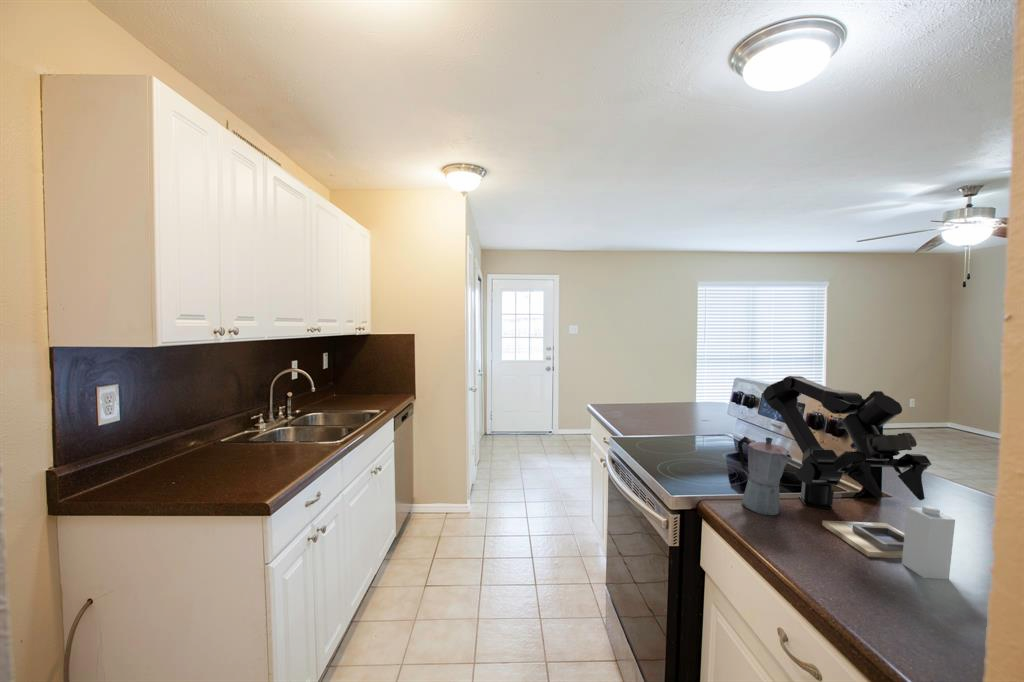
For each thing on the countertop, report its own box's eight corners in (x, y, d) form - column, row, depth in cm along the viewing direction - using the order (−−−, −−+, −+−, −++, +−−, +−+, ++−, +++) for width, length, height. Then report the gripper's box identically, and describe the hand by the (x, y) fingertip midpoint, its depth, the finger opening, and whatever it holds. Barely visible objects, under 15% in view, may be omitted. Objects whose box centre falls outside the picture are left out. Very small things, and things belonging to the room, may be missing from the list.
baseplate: (822, 525, 106) (823, 514, 106) (885, 527, 106) (886, 517, 106) (868, 556, 92) (869, 545, 92) (941, 560, 92) (942, 548, 92)
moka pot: (776, 523, 106) (782, 446, 105) (721, 499, 120) (726, 430, 119) (798, 516, 111) (804, 442, 109) (743, 493, 124) (747, 427, 123)
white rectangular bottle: (901, 563, 90) (907, 502, 90) (925, 564, 90) (931, 503, 89) (924, 578, 85) (930, 513, 85) (948, 579, 85) (955, 514, 84)
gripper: (847, 417, 98) (883, 482, 88) (927, 420, 98) (974, 486, 88) (820, 440, 106) (850, 502, 96) (894, 443, 106) (933, 505, 96)
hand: (901, 498), depth 94 cm, fingers open, 9 cm apart
